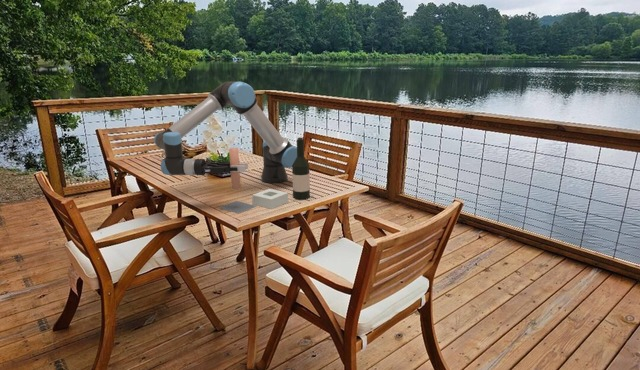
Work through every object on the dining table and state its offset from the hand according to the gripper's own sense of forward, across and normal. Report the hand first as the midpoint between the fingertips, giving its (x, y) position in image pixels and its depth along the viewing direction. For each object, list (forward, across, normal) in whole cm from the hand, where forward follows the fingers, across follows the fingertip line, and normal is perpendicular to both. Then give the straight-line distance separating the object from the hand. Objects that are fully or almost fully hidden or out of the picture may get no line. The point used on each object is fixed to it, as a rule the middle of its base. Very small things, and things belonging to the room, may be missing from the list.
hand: (246, 167), depth 189 cm
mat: (-5, 0, -19) cm, 20 cm away
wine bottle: (+22, -17, -20) cm, 34 cm away
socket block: (+9, -6, -20) cm, 22 cm away
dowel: (-5, 0, -10) cm, 11 cm away
